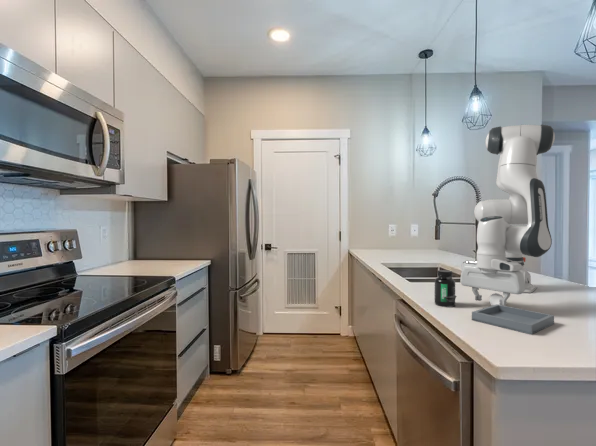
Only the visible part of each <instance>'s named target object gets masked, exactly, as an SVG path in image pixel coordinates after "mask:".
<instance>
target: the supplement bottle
mask: <svg viewBox="0 0 596 446" xmlns="http://www.w3.org/2000/svg"><path fill="white" fill-rule="evenodd" d="M436 276H437V277H436V278H435V279H434V304H435V305H437V306H440V307H442V306H453V305H455V306H456V300H455V301H454V302H449V301H447V300H446V298H444V297H449V296H456V280H455V279H454V278H453V271H452V270H445V269H444V270H443V269H440V270H437V275H436ZM446 277H452V280H448V279H446Z"/></svg>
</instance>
